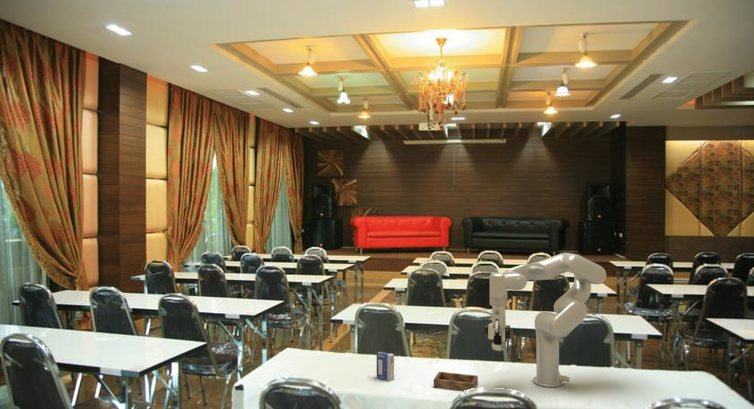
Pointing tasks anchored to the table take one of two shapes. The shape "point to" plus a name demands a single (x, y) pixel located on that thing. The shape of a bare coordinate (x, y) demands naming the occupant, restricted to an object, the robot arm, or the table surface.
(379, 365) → the walkman
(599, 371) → the table surface
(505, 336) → the pneumatic valve
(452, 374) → the wooden tray
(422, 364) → the table surface
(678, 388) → the table surface
